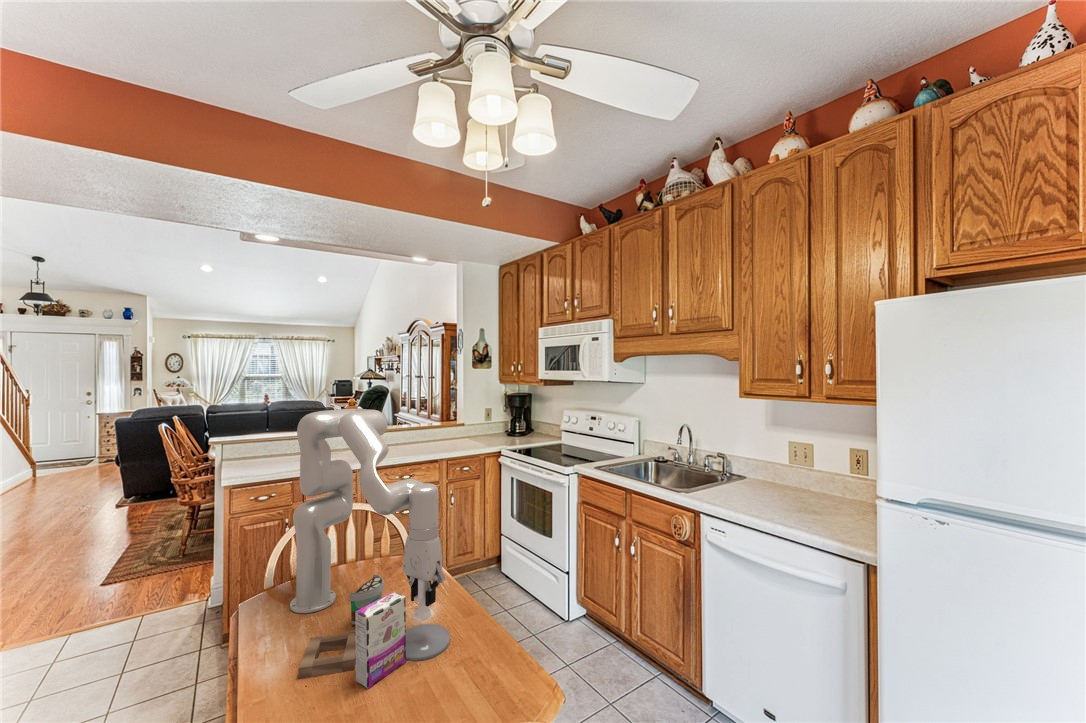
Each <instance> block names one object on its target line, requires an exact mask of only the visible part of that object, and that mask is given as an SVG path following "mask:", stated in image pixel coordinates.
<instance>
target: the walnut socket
mask: <svg viewBox="0 0 1086 723" xmlns="http://www.w3.org/2000/svg"><path fill="white" fill-rule="evenodd" d="M355 634H356V633H355V631H351V632H350V631H349V632H344V633H343V632H342V633H335V634H329V635H322V636H315V637H311V638H310V639H309V641H308V644H307V647H306V649H305V651H304V653H303V657H302V658H301V663H300V665H299V668H298V680H302V679H307V678H313V677H319V676H320V677H321V676H325V675H331V674H336V673H338V674H339V673H342V672H349V671H355V670H356V653H355V649H356V641H355ZM339 650H344V652H343V654H337V655H332V656H331V655H330V656H324V657H319V656H320V653H326V652H331V651H339Z"/></svg>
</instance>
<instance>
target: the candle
mask: <svg viewBox="0 0 1086 723" xmlns="http://www.w3.org/2000/svg"><path fill="white" fill-rule="evenodd" d="M426 591H427V584H426V581H423V580H420V579H418V595H417V596H415V597H414V600H415V601H414V602H416V603H418V606H417V607H416V609H415V612H414V613H412V619H413V620H414V621H418V622H424V621H427V620H428V621H429V619H431V618H432V617H433V616H434V612H433V610H431V607H430V606H428V607H427V606H426V605H425V592H426Z"/></svg>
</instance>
